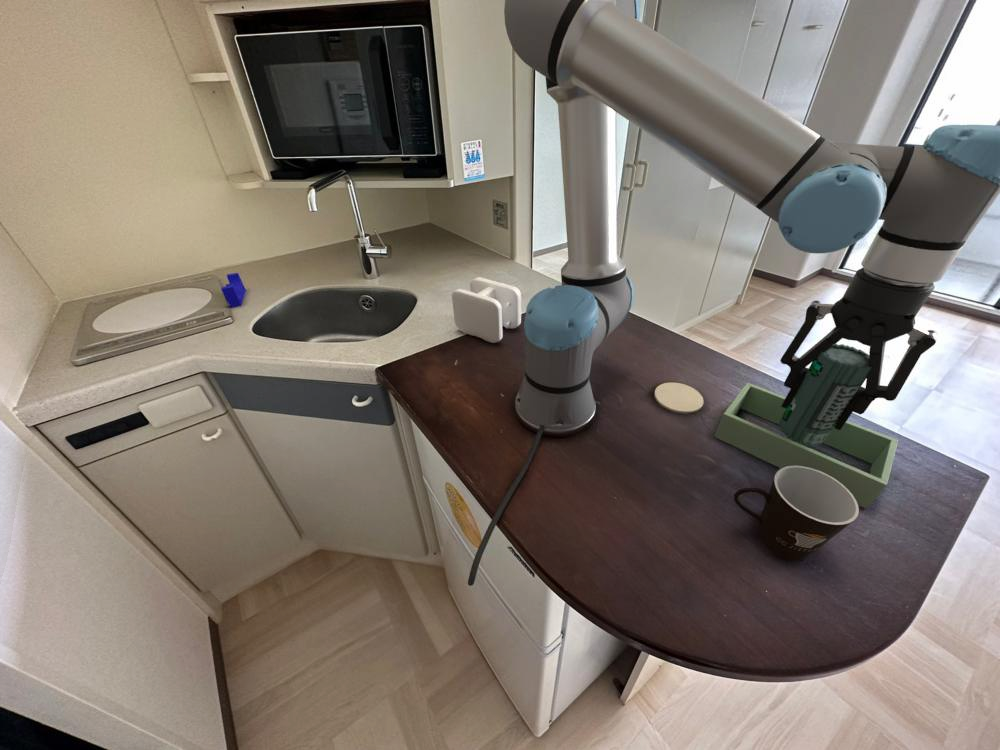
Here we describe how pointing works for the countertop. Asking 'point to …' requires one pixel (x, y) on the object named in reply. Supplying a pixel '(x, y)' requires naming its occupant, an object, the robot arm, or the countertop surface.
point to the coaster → (678, 398)
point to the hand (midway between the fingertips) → (811, 413)
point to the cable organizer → (487, 309)
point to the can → (824, 394)
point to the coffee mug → (801, 511)
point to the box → (791, 453)
